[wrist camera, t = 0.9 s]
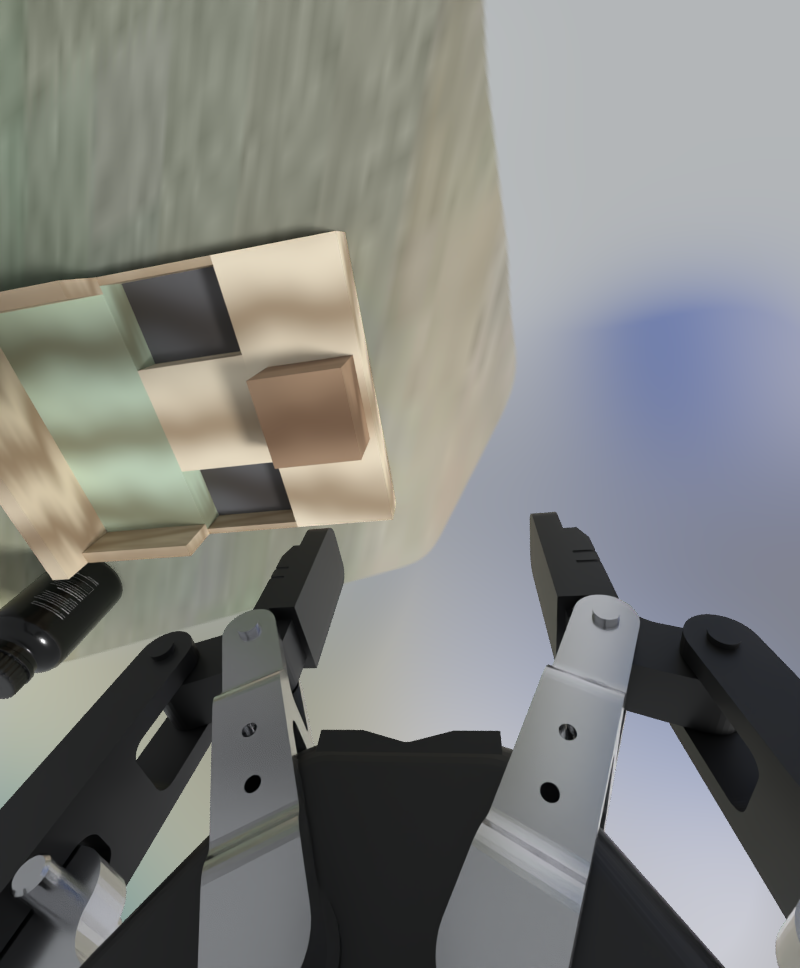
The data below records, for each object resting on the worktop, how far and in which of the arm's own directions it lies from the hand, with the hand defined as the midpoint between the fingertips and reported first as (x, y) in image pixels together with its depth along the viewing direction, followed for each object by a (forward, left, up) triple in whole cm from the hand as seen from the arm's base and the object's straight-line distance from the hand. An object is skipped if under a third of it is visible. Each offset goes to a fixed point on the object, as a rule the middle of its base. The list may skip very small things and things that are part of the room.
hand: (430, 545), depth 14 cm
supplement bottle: (+16, -38, -20) cm, 46 cm away
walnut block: (0, -8, -17) cm, 19 cm away
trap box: (0, -18, -20) cm, 27 cm away
